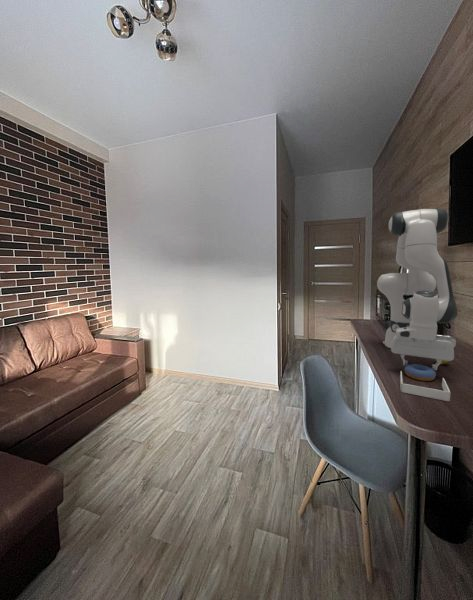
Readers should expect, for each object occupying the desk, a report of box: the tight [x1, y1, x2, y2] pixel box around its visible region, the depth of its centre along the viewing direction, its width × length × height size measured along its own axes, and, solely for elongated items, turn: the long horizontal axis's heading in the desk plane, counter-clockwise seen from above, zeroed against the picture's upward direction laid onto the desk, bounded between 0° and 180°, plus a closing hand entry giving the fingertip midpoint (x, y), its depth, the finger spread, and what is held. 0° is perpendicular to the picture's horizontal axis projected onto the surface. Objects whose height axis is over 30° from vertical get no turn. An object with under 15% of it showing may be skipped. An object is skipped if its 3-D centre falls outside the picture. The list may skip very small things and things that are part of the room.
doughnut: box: [404, 363, 437, 382], centre depth 104 cm, size 10×10×5 cm
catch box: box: [399, 370, 451, 403], centre depth 93 cm, size 13×13×3 cm
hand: (419, 367), depth 106 cm, fingers open, 8 cm apart
